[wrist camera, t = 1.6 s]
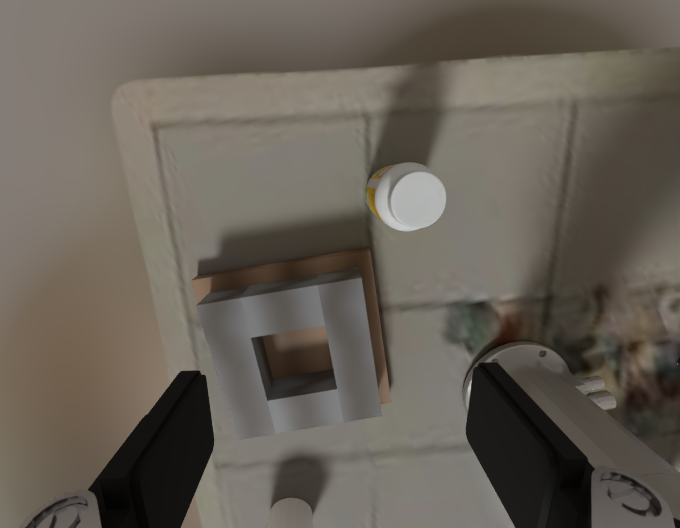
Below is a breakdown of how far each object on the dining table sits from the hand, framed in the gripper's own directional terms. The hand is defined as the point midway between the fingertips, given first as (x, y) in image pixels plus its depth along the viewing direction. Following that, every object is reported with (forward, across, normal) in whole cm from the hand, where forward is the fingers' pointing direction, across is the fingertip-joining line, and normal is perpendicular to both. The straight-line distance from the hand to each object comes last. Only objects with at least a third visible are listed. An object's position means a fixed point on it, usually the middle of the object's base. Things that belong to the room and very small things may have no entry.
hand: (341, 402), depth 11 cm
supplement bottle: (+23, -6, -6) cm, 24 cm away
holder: (+22, +4, +10) cm, 25 cm away
